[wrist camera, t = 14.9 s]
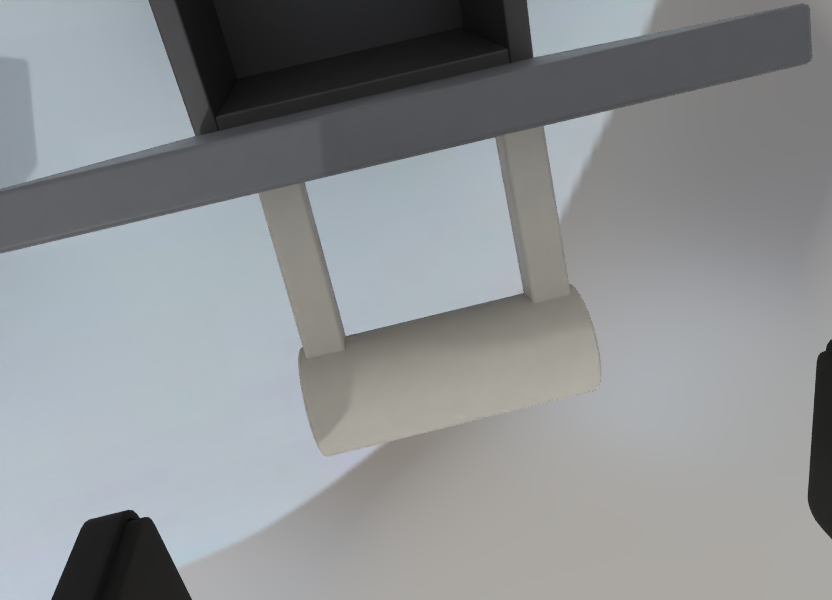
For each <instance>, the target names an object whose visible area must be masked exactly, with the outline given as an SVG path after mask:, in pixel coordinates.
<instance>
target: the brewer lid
mask: <svg viewBox="0 0 832 600" xmlns="http://www.w3.org/2000/svg"><path fill="white" fill-rule="evenodd" d="M811 59H812V44H811V24H810V8H809V6H808V5H806V4H799V5H793V6H789V7H784V8H779V9H774V10H769V11H764V12H759V13H754V14H749V15H744V16H739V17H734V18H729V19H724V20H719V21H714V22H709V23H704V24H699V25H694V26H689V27H684V28H679V29H674V30H669V31H664V32H659V33H654V34H649V35H644V36H639V37H634V38H629V39H624V40H619V41H614V42H609V43H604V44H599V45H594V46H589V47H584V48H579V49H574V50H569V51H564V52H559V53H554V54H549V55H544V56H539V57H535V58H530V59H526V60H522V61H517V62H513V63H509V64H504V65H500V66H496V67H491V68H487V69H483V70H479V71H474V72H470V73H466V74H461V75H457V76H453V77H448V78H444V79H440V80H436V81H431V82H427V83H423V84H418V85H414V86H410V87H405V88H401V89H397V90H392V91H388V92H384V93H380V94H375V95H371V96H367V97H362V98H358V99H354V100H349V101H345V102H341V103H337V104H332V105H328V106H324V107H319V108H315V109H311V110H306V111H302V112H298V113H293V114H289V115H285V116H281V117H276V118H272V119H268V120H263V121H259V122H255V123H250V124H246V125H242V126H237V127H233V128H229V129H225V130H220V131H216V132H212V133H207V134H203V135H199V136H194V137H191V138H187V139H183V140H180V141H176V142H172V143H169V144H165V145H161V146H158V147H154V148H150V149H147V150H143V151H139V152H136V153H132V154H128V155H125V156H121V157H117V158H114V159H110V160H106V161H103V162H99V163H95V164H92V165H88V166H84V167H80V168H77V169H73V170H69V171H66V172H62V173H58V174H55V175H51V176H47V177H44V178H40V179H36V180H33V181H29V182H25V183H22V184H18V185H14V186H11V187H7V188H3V189H0V253H5V252H9V251H13V250H17V249H22V248H26V247H30V246H34V245H39V244H43V243H47V242H51V241H56V240H60V239H64V238H68V237H73V236H77V235H81V234H85V233H90V232H94V231H98V230H102V229H107V228H111V227H115V226H119V225H124V224H128V223H132V222H136V221H141V220H145V219H149V218H153V217H158V216H162V215H166V214H170V213H175V212H179V211H183V210H187V209H192V208H196V207H200V206H204V205H209V204H213V203H217V202H221V201H226V200H230V199H234V198H238V197H243V196H247V195H251V194H255V193H259V197H260V200H261V203H262V207H263V210H264V214H265V217H266V221H267V224H268V228H269V231H270V235H271V238H272V242H273V245H274V249H275V252H276V255H277V259H278V262H279V266H280V269H281V273H282V276H283V280H284V283H285V287H286V290H287V294H288V297H289V301H290V304H291V307H292V311H293V314H294V318H295V321H296V325H297V328H298V332H299V335H300V339H301V342H302V346H303V347H302V348H301V349H300V351H299V357H298V366H299V376H300V383H301V389H302V394H303V399H304V404H305V408H306V412H307V416H308V420H309V423H310V427H311V430H312V433H313V436H314V439H315V441H316V444H317V446H318V448H319V450H320V451H321V453H322V454H323V455H324V456H332V455H336V454H340V453H344V452H348V451H352V450H356V449H360V448H364V447H368V446H373V445H377V444H381V443H385V442H389V441H393V440H397V439H401V438H405V437H409V436H413V435H416V434H421V433H425V432H429V431H433V430H437V429H441V428H445V427H449V426H453V425H457V424H462V423H466V422H469V421H474V420H478V419H482V418H486V417H490V416H494V415H498V414H502V413H506V412H510V411H514V410H518V409H522V408H526V407H530V406H534V405H538V404H543V403H546V402H551V401H554V400H559V399H563V398H567V397H571V396H575V395H579V394H583V393H587V392H591V391H595V390H596V389H597V388H598V387H599V385H600V381H601V360H600V353H599V347H598V343H597V338H596V334H595V331H594V327H593V324H592V321H591V318H590V315H589V313H588V310H587V308H586V305H585V303H584V301H583V299H582V298H581V296H580V294H579V293H578V291H577V290H576V288H575V287H574V286H573V285H571V284H569V281H568V275H567V268H566V262H565V256H564V250H563V244H562V238H561V232H560V225H559V219H558V213H557V207H556V201H555V195H554V189H553V182H552V176H551V170H550V164H549V158H548V152H547V146H546V139H545V133H544V127H543V126H544V125H549V124H553V123H557V122H561V121H566V120H570V119H574V118H578V117H583V116H587V115H591V114H595V113H600V112H604V111H608V110H612V109H617V108H621V107H625V106H629V105H634V104H638V103H642V102H646V101H650V100H655V99H659V98H663V97H667V96H672V95H676V94H680V93H684V92H689V91H693V90H697V89H702V88H706V87H710V86H714V85H719V84H723V83H727V82H731V81H736V80H740V79H744V78H749V77H753V76H757V75H761V74H766V73H770V72H774V71H778V70H782V69H787V68H791V67H795V66H799V65H803V64H807V63H808V62H810V61H811ZM493 137H495V138H496V144H497V149H498V154H499V160H500V165H501V171H502V176H503V182H504V187H505V193H506V198H507V203H508V209H509V214H510V220H511V225H512V231H513V236H514V242H515V247H516V252H517V258H518V263H519V269H520V274H521V280H522V285H523V291H524V293H523V294H519V295H515V296H511V297H506V298H502V299H498V300H494V301H490V302H486V303H482V304H478V305H473V306H469V307H465V308H461V309H457V310H453V311H449V312H444V313H440V314H436V315H432V316H428V317H424V318H420V319H416V320H411V321H407V322H403V323H399V324H395V325H391V326H387V327H382V328H378V329H374V330H370V331H366V332H362V333H358V334H354V335H349V336H345V332H344V328H343V325H342V321H341V317H340V313H339V310H338V306H337V302H336V298H335V295H334V291H333V287H332V284H331V280H330V276H329V272H328V269H327V265H326V261H325V257H324V254H323V250H322V246H321V242H320V239H319V235H318V231H317V227H316V224H315V220H314V216H313V213H312V209H311V205H310V201H309V198H308V194H307V190H306V186H305V183H304V182H306V181H311V180H315V179H319V178H323V177H328V176H332V175H336V174H340V173H345V172H349V171H353V170H357V169H362V168H366V167H370V166H374V165H379V164H383V163H387V162H391V161H396V160H400V159H404V158H408V157H413V156H417V155H421V154H425V153H430V152H434V151H438V150H442V149H447V148H451V147H455V146H459V145H464V144H468V143H472V142H476V141H481V140H485V139H489V138H493Z"/></svg>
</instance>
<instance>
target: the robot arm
mask: <svg viewBox="0 0 832 600" xmlns="http://www.w3.org/2000/svg"><path fill="white" fill-rule="evenodd" d="M811 442H812V443H811V456H810V472H809V486H808V503H809V507H810V510H811V512H812V514H813V516H814V518H815V520H816V521H817V523H818V524H819V525H820V526H821V528H822V529H823V530H824V531H825V532H826V533H827V534H828V535H829V536H830V538H831V539H832V340H830V342H829V343H828V344H827V348H826V351H824V352H822V353H820V355H819V356H818V359H817V367H816V383H815V397H814V412H813V426H812V441H811ZM51 600H192V599H191V597H190V595H189V593H188V591H187V589H186V587H185V585H184V583H183V581H182V579H181V577H180V575H179V573H178V571H177V569H176V567H175V565H174V563H173V561H172V559H171V557H170V554H169V552H168V550H167V548H166V546H165V544H164V542H163V540H162V538H161V536H160V534H159V532H158V530H157V528H156V526H155V524H154V523H153V521H152V520H151V519H150V518H149V517H144V518H139V516H138V515H137V513H135V512H134V511H133V510H126V511H122V512H118V513H114V514H110V515H106V516H102V517H98V518H94V519H90V520H88V521H86V522H85V523H84V525H83V526H82V528H81V530H80V532H79V535H78V537H77V539H76V542H75V544H74V547H73V549H72V551H71V554H70V556H69V559H68V561H67V563H66V566H65V568H64V571H63V573H62V575H61V578H60V580H59V583H58V585H57V587H56V590H55V592H54V595H53V597H52V599H51Z"/></svg>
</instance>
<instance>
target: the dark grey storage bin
mask: <svg viewBox="0 0 832 600" xmlns="http://www.w3.org/2000/svg"><path fill="white" fill-rule="evenodd" d="M149 3H150V6H151V9H152V12H153V15H154V17H155V20H156V23H157V26H158V29H159V32H160V35H161V38H162V41H163V43H164V46H165V49H166V52H167V55H168V58H169V61H170V64H171V66H172V69H173V72H174V75H175V78H176V81H177V84H178V87H179V90H180V92H181V95H182V98H183V101H184V104H185V107H186V110H187V113H188V115H189V118H190V121H191V124H192V127H193V130H194V133H195V136H199V135H203V134H207V133H212V132H216V131H220V130H225V129H229V128H233V127H237V126H242V125H246V124H250V123H255V122H259V121H263V120H268V119H272V118H276V117H281V116H285V115H289V114H293V113H298V112H302V111H306V110H311V109H315V108H319V107H324V106H328V105H332V104H337V103H341V102H345V101H349V100H354V99H358V98H362V97H367V96H371V95H375V94H380V93H384V92H388V91H392V90H397V89H401V88H405V87H410V86H414V85H418V84H423V83H427V82H431V81H436V80H440V79H444V78H448V77H453V76H457V75H461V74H466V73H470V72H474V71H479V70H483V69H487V68H491V67H496V66H500V65H504V64H509V63H513V62H517V61H522V60H526V59H530V58H533V51H532V42H531V34H530V25H529V17H528V8H527V0H149Z"/></svg>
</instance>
